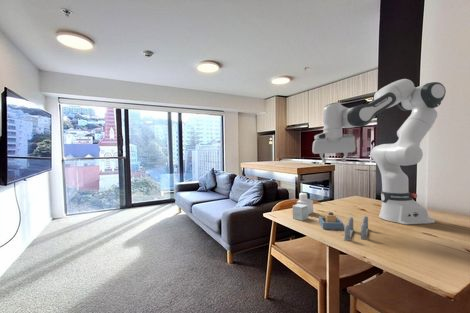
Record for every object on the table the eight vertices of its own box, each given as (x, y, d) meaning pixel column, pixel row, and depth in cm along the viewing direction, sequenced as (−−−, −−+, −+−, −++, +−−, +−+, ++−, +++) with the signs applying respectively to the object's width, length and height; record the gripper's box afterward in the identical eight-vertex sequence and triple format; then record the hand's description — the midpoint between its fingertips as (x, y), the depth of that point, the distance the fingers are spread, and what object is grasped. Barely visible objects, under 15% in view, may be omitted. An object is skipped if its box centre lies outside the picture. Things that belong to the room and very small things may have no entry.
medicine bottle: (302, 210, 135) (301, 191, 135) (313, 212, 130) (313, 192, 130) (296, 213, 130) (296, 193, 130) (307, 215, 125) (307, 194, 125)
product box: (302, 221, 116) (301, 207, 115) (292, 218, 120) (292, 205, 120) (308, 218, 119) (308, 205, 119) (298, 216, 124) (298, 203, 124)
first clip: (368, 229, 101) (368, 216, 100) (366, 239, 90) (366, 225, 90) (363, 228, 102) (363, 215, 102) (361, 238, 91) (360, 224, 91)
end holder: (337, 223, 110) (337, 217, 110) (343, 229, 102) (343, 223, 101) (319, 222, 112) (318, 216, 112) (323, 229, 103) (322, 222, 103)
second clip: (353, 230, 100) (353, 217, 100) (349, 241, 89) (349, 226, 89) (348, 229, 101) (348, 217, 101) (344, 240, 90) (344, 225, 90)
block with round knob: (334, 223, 108) (333, 211, 108) (336, 226, 104) (335, 213, 104) (325, 223, 109) (325, 211, 109) (327, 226, 105) (327, 213, 105)
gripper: (352, 134, 113) (353, 160, 113) (311, 136, 116) (312, 162, 117) (357, 133, 106) (358, 161, 107) (313, 135, 110) (314, 163, 110)
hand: (333, 162), depth 112 cm, fingers open, 8 cm apart
